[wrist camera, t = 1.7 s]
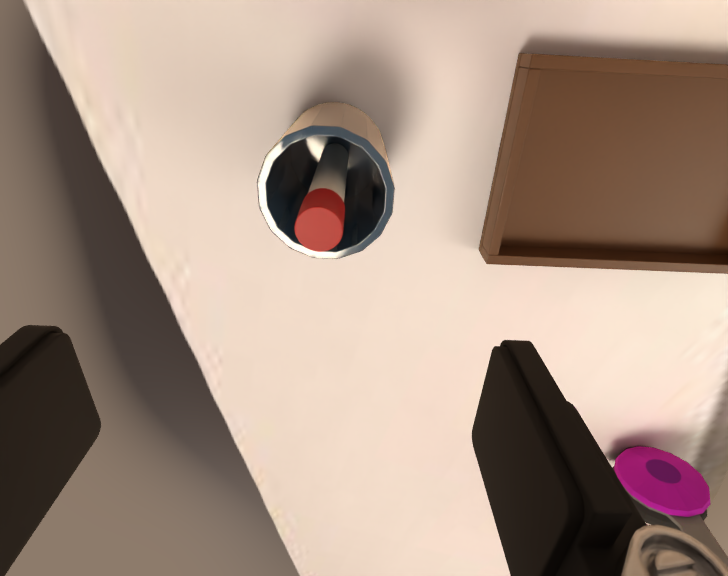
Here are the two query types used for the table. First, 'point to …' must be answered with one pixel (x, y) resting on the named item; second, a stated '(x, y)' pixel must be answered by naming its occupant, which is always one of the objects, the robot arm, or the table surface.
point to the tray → (612, 166)
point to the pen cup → (297, 168)
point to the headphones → (667, 492)
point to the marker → (324, 202)
